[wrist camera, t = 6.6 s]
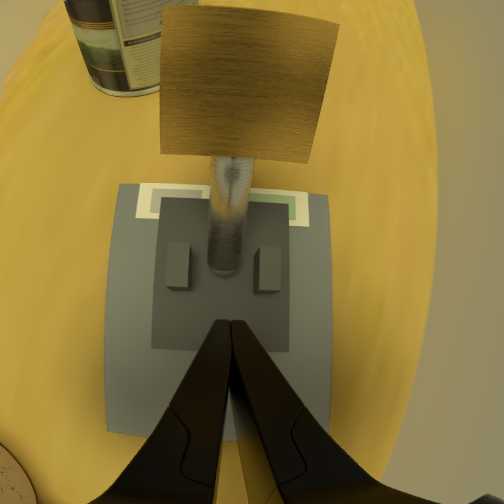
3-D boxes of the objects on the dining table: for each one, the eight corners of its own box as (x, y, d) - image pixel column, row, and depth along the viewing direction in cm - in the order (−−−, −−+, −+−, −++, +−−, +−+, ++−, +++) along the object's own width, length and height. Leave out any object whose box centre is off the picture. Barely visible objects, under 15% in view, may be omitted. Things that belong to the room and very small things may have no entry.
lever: (274, 287, 15) (339, 24, 7) (170, 283, 15) (163, 6, 6) (270, 257, 17) (322, 19, 8) (174, 252, 16) (174, 5, 8)
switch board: (322, 429, 19) (359, 460, 13) (112, 425, 17) (80, 458, 11) (322, 201, 22) (357, 163, 17) (123, 190, 21) (98, 147, 15)
